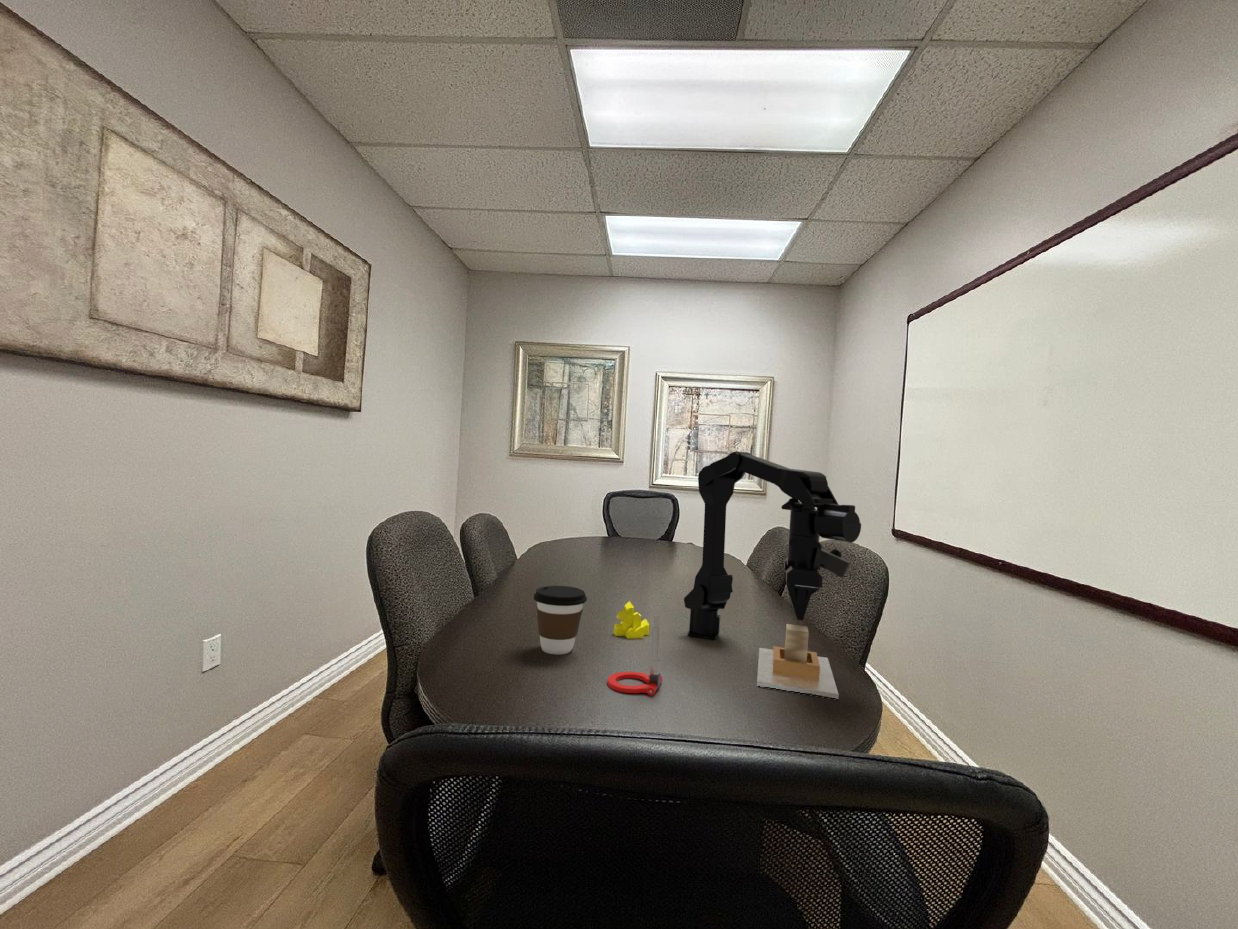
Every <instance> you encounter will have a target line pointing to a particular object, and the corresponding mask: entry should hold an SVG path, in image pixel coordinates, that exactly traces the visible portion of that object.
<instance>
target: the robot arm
mask: <svg viewBox="0 0 1238 929" xmlns="http://www.w3.org/2000/svg"><path fill="white" fill-rule="evenodd" d="M745 474H748V475H749V476H750V475H751V476H753V477H755V478H759V479H761V480H764V481H765V482H768V483H771V484H773V485H775V486H776V487H778V488H779V489H780V491H781V492H782V493H783V494H785V495H787V496H789V499H788V501H786V502H785V503H783V505H781V506H780V507H781V510H786V511H790V513H789V514H790V515H789V528H788V529H789V530H788V537H787V538H788V539H787V543H788V544H787V545H788V546H787V548H788V549H787V557H786V558H784V563H783V564H784V565H783V568H784V576H785V584H786V588H787V591H788V594H789V597H790V601H791V603H792V607H793V611H794V614H795V618H796V620H798V621H803V620H804V619H805V616H806V612H807V609H808V606H809V602H810V599H811V596H812V595H813V594H815V593H816V592H818V591H820V590H821V589H822V588H823V579H824V578H823V575H822V573H820V571H821V568H822V569H824V570H826V571H828V572H831V573H833V574H835V575H836V576H837V577H839V578H841V579H844V577H845V575H846V573H847V571H848V569H849V567H850V564H851V563H850V561H849V560H847V559H846V558H843V557H842V552H841V550H839V549H837V548H835V547H833V548H831V549H830V550H826V549H824V548H823V547H822V546H823V544H822V543H821V542H820V538H822V539H827V540H831V541H832V540H833V541H838V542H844V543H851V544H853V543H854V542H856V541H857V539H858V538H859V536H860V533H861V531H862V530H861V529H862V523H861V520H860V517H859V514H858V513H857V512H856V506H855V505H854V504H839V503H838V501H837V499H836V498H835V496H834V494H833V492H832V491H831V489H830V487H829V484H828V482H829V481H828V480H827V476H826V475H825V474H824V473H822V472H820V471H819V472H818V471H812V470H806V469H805V470H803V469H796V468H789V467H786V466H784V465H781V464H778V463H775V462H774V461H770V460H766V459H764V458H761V457H759V456H755V455H753V454H751V453H750V452H746V451H733V452H730V453H729V454H728V455H726V456H725V457H723V458H720V459H718V460H715V461H714V462H712V463H710V464H709V465H705V466H704V467H702V469H701V470H700V471H699V472H698V476H697V481H698V482H697V483H698V484H697V485H698V492H699V495H700V498H701V499H702V501H703V503H704V513H703V514H704V515H703V516H704V517H703V518H704V519H703V538H702V539H703V542H702V563H701V567H700V568H699V570H698V572H697V573H696V575H695V577H694V583H693V588H692V589H691V591H690V592H688V594H686V596H684V597H683V601H684V607H685V609H689V610H690V613H689V614H690V615H689V624H688V625H689V628H688V632H687V636H689V637H697V638H701V639H709V640H716V639H717V636H719V635H720V632H721V631H720V630H721V615H720V614H719V610H721V609H722V610H724V609H725V607H726V605H727V603H728V600H730V598H731V594H733V592H734V591H733V579H734V577H733V575H732V574H729V573H728V572H727V570H726V568H725V548H726V547H725V545H726V544H725V543H726V523H727V522H726V520H727V506H728V503H729V501H730V500H731V498H732V496H733V494H734V490H735V486H736V483H738V482H739V481H741V480H742V479H743V478H744V476H745Z"/></svg>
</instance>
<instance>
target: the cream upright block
mask: <svg viewBox="0 0 1238 929" xmlns="http://www.w3.org/2000/svg"><path fill="white" fill-rule="evenodd" d="M785 628H786V629H785V640H784V641H785V642H784V648H785V653H784V659H788V660H794V661H801V662H807V651H808V650H809V648H808V647H809V634H810V633H809V632H810V631H809V627H808V626H806V625H805V626H804V625H797V624H790V623H786V626H785Z"/></svg>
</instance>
